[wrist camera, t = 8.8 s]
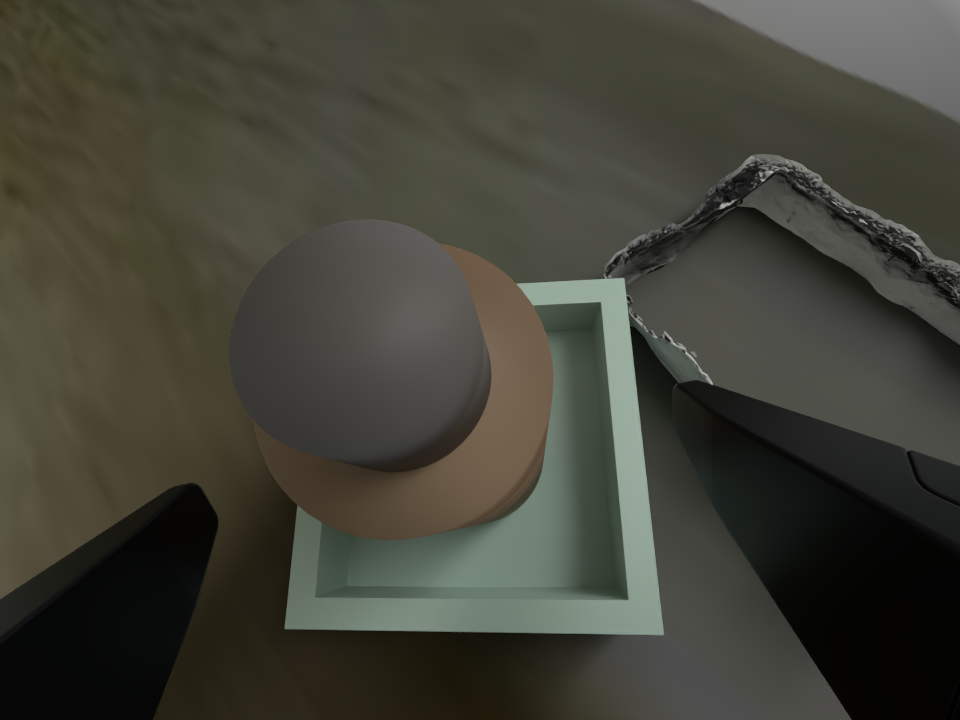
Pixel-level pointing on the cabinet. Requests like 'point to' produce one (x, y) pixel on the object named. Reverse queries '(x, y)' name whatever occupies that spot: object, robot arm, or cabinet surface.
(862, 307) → the cabinet surface
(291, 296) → the pepper mill
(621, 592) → the tray
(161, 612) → the robot arm
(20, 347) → the cabinet surface
